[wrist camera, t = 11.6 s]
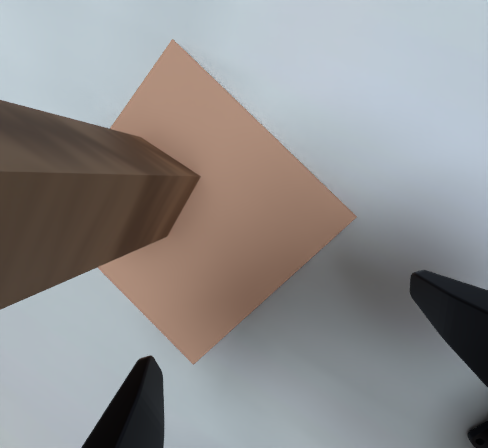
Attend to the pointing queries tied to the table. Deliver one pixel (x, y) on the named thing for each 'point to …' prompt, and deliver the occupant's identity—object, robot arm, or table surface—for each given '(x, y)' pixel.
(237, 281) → the terracotta mat
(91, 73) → the table surface
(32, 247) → the walnut block
